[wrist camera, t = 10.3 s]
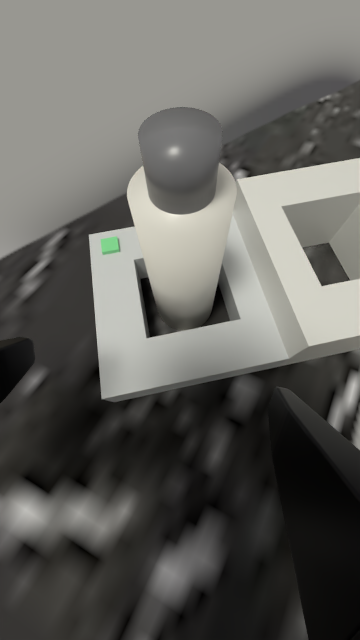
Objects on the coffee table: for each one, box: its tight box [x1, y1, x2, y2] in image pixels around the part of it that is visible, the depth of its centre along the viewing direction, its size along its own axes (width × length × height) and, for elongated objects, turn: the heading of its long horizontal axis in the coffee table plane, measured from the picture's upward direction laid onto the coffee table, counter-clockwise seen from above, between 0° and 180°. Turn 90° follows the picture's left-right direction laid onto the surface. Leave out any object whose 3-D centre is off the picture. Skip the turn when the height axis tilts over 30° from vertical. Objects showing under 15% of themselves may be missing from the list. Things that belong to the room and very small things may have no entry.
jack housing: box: [89, 158, 360, 402], centre depth 17 cm, size 12×22×5 cm, turn 102°
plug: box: [127, 107, 237, 330], centre depth 13 cm, size 4×4×12 cm
